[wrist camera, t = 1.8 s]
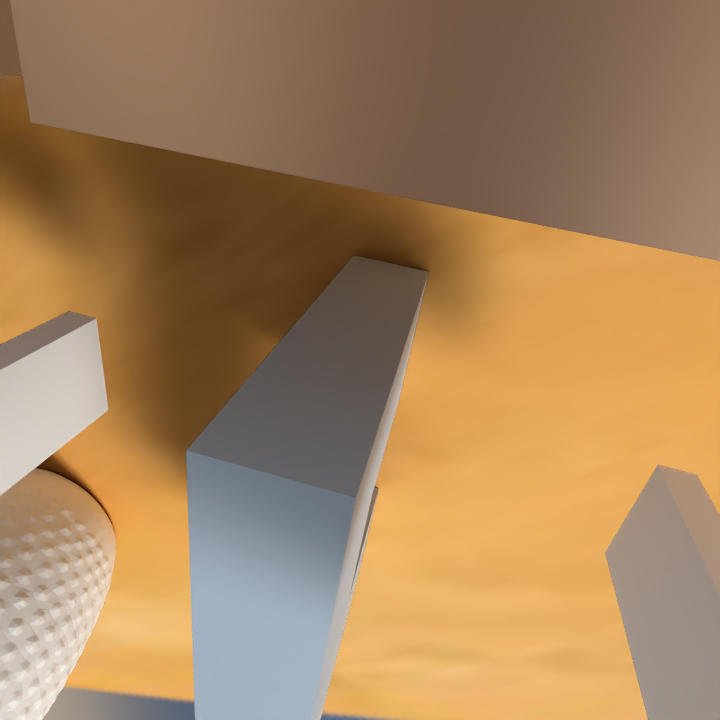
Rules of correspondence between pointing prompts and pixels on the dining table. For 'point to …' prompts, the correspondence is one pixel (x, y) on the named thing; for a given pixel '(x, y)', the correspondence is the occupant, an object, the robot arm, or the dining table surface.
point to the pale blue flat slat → (294, 497)
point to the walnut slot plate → (409, 98)
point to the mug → (48, 587)
